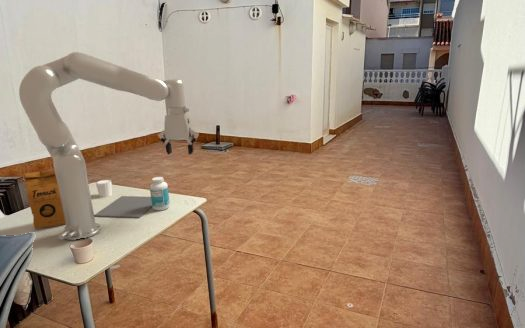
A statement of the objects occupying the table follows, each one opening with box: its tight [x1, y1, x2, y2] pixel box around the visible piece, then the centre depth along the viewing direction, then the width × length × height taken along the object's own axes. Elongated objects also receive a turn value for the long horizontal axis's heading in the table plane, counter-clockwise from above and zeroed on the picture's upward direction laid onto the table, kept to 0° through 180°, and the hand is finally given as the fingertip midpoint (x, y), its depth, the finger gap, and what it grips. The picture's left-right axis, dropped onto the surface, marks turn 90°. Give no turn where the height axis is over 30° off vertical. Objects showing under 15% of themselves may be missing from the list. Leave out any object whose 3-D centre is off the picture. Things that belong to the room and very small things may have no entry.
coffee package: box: [23, 169, 66, 230], centre depth 133 cm, size 10×12×22 cm
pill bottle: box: [149, 176, 171, 212], centre depth 147 cm, size 8×7×14 cm
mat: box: [94, 195, 152, 219], centre depth 151 cm, size 22×20×1 cm
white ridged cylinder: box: [95, 179, 113, 198], centre depth 165 cm, size 7×7×7 cm
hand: (180, 153), depth 141 cm, fingers open, 8 cm apart
